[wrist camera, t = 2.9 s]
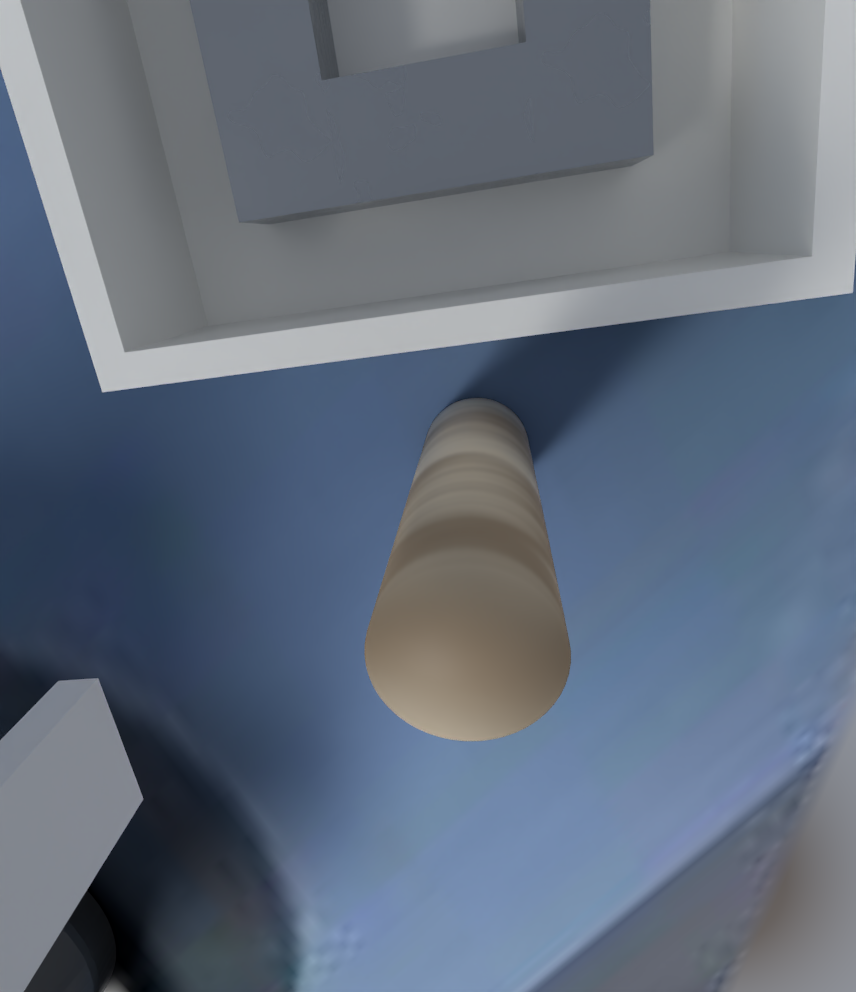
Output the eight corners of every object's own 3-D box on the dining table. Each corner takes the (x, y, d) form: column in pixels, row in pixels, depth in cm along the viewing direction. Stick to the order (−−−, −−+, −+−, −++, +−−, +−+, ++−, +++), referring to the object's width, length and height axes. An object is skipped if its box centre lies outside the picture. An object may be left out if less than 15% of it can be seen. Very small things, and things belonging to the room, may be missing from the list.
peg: (532, 491, 27) (577, 735, 13) (432, 501, 27) (382, 746, 14) (523, 391, 25) (563, 557, 12) (418, 404, 26) (347, 575, 13)
